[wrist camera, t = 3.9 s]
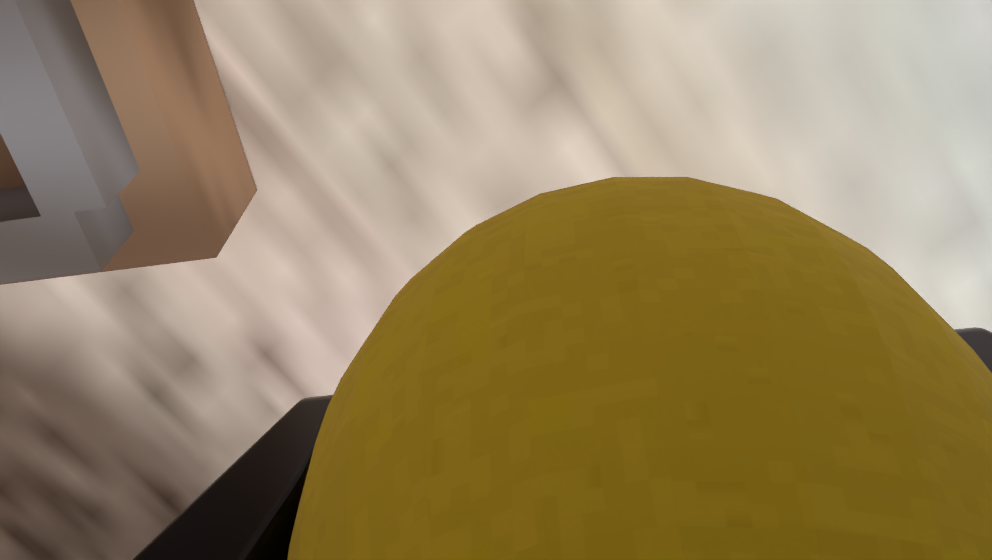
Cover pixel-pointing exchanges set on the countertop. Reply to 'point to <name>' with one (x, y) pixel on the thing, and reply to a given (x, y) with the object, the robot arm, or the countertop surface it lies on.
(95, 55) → the display plinth
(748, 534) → the lemon
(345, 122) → the countertop surface
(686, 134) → the countertop surface
